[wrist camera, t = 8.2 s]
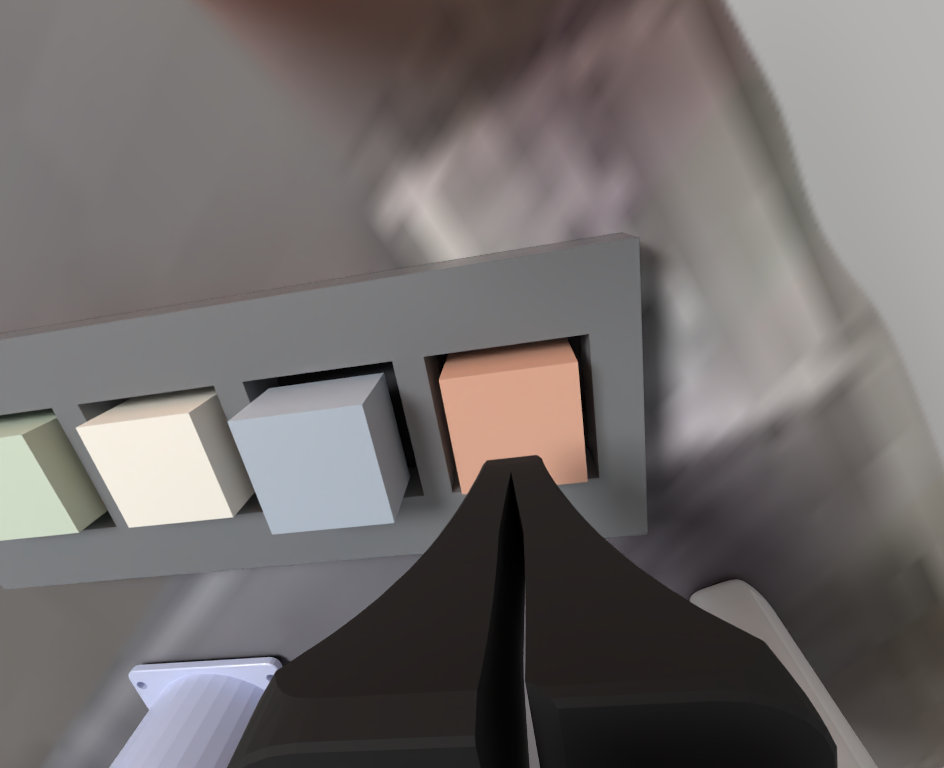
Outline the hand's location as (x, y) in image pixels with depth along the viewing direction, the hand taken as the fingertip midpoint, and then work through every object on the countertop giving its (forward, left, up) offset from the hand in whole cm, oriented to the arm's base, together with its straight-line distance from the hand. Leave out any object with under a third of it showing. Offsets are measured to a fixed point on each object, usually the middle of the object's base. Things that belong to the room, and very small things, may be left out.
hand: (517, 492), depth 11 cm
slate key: (0, +6, -4) cm, 7 cm away
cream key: (0, +12, -5) cm, 13 cm away
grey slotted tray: (0, +9, -6) cm, 11 cm away
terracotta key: (0, 0, -6) cm, 6 cm away
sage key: (0, +18, -5) cm, 19 cm away
